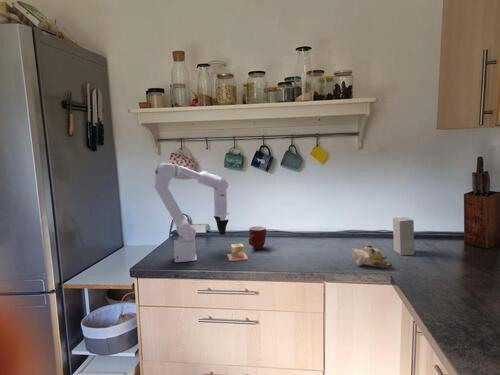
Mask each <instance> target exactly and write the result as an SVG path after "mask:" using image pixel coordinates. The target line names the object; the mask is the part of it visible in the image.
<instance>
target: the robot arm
mask: <svg viewBox="0 0 500 375" xmlns="http://www.w3.org/2000/svg"><path fill="white" fill-rule="evenodd" d="M181 175H183V176H186V177H189V178H192V179H195V180H197V182H198V184H200V185H203V186H205V187H209V188H211V189H213V201H214V202H213V204H214V205H213V208H214V212H213V214H214V215H213V218H214V219H215V220H214V221H215V222H216V226H217V231H218V233H219V235H220V236H223V235H224V236H225V235H226V230H227V225H228V223H229V218H228V219H227V218H226V217H227V215H230V211H228V198H227V197H228V196H227V195H228V194H227V189H228V187H229V183H228V181H227V179H226V178H224V177H220V176H219V175H218V174H212V173H210V172H209V171H207V170H205V171H201V172H198V171H195V170H193V169H190V168H188V167H185V166H182V165H179V164H173V163H168V162H160V163H158V165H156V169H155V171H154V188H155V191H156V192H157V194H158V195H159V198H160V199H161V201H162V203H163V205H164V206H165V208H166V210H167V212H168V213H169V215H170V216H171V218H172V220H173V221H174V225H175V227H176V232H177V234H178V238H177V239H174V240H173V251H174V252H173V257H174V263H181V262H182V263H183V262H193V261H194V262H195V261H197V260H198V259H197V253H196V238H195V237H196V235H197V231H196V229H195V228H194V227H193V226H192V225H191V224H190V223H189V221H188V220H187V219H186V217H185V215H184V213H183V212H182V210H181V209H180V206H179V205H178V203H177V201H176V200H175V198H174V196H173V195H172V193H171V190H170V189H169V185H170V182H171V181H172V179H173V178H174V176H176V177H179V176H181Z"/></svg>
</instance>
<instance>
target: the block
mask: <svg viewBox="0 0 500 375" xmlns="http://www.w3.org/2000/svg"><path fill="white" fill-rule="evenodd" d="M244 253H245V248H244V245H243V244H242V243H231V244H230V254H231V256H232V258H244Z"/></svg>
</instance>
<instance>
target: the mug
mask: <svg viewBox="0 0 500 375" xmlns="http://www.w3.org/2000/svg"><path fill="white" fill-rule="evenodd" d="M248 230H249V231H248V232H249V238H248V244H249V245H250V246H251V247H252V248H253V249H254V250H256V251H258V250H259V251H261V250H262V249H263V248H264V246H265V244H266V237H267V228H266V227H264V226H251V227H249V229H248Z"/></svg>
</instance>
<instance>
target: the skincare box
mask: <svg viewBox="0 0 500 375" xmlns="http://www.w3.org/2000/svg"><path fill="white" fill-rule="evenodd" d="M414 224H415V223H414V219H411V218H410V217H406V216H404V217H403V216H402V217H392V233H393V251H394V252H396V253H397V254H398V255H400V256H407V255H408V256H414V255H415V232H414V231H415V228H414V227H415V225H414Z"/></svg>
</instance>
